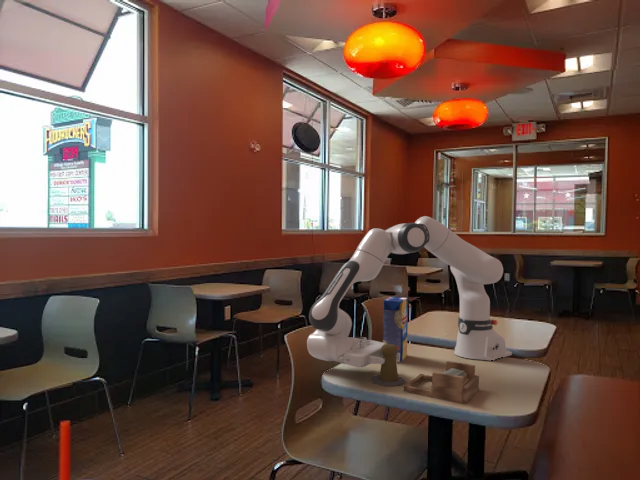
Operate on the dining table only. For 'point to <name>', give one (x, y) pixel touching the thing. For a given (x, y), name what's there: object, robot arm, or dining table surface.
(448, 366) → the rack
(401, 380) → the coaster
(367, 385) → the dining table surface
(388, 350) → the cork
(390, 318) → the beverage box
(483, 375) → the dining table surface
